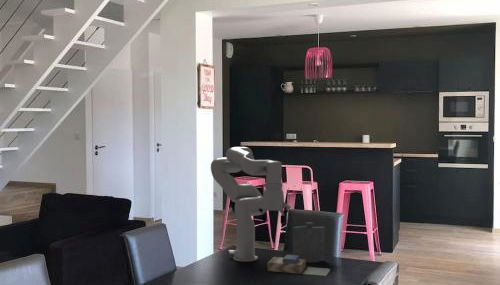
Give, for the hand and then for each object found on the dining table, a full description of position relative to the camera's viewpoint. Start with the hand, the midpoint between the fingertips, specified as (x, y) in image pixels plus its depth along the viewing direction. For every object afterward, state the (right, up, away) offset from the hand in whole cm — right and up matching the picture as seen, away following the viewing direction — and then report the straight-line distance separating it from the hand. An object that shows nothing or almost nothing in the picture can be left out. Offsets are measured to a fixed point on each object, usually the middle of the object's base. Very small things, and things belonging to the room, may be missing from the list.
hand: (273, 222), depth 260 cm
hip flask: (+19, -22, +14) cm, 32 cm away
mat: (+20, -22, -6) cm, 31 cm away
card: (+8, -18, -2) cm, 20 cm away
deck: (+6, -22, -2) cm, 23 cm away
